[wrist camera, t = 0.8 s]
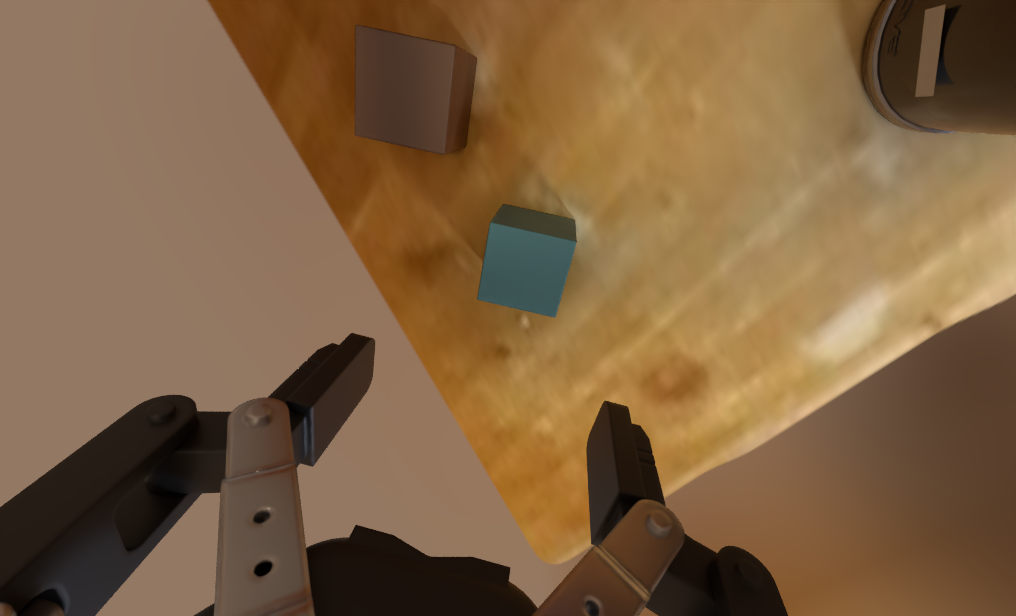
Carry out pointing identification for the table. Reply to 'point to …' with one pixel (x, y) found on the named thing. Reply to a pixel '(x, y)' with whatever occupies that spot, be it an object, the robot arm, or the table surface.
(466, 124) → the walnut block
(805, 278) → the table surface
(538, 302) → the teal block
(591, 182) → the table surface
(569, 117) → the table surface
